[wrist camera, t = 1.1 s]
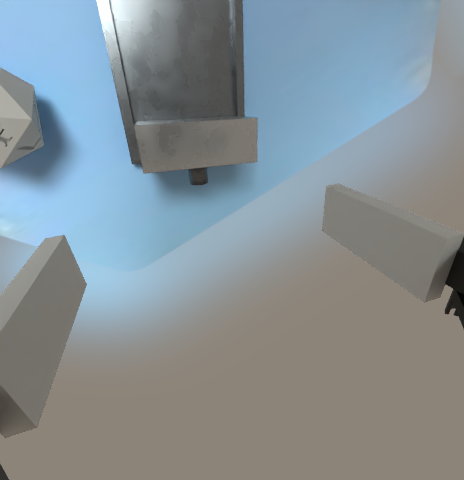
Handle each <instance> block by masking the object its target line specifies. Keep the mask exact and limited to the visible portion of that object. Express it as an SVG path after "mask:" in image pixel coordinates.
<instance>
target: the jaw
mask: <svg viewBox="0 0 464 480" xmlns="http://www.w3.org/2000/svg"><path fill="white" fill-rule="evenodd" d="M134 128H135V133H136V138H137V143H138V148H139V153H140V158H141V163H142V168H143V173H154V172H164V171H173V170H183V169H188V170H189V178H190V184H192V185H203V184H206V183H208V177H207V167H212V166H222V165H232V164H242V163H251V162H257V118H252V117H239V116H225V117H207V118H190V119H172V120H155V121H137V122H136V124H135V125H134Z"/></svg>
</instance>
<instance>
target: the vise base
mask: <svg viewBox="0 0 464 480" xmlns="http://www.w3.org/2000/svg"><path fill="white" fill-rule="evenodd" d="M97 5H98V9H99V14H100V18H101V23H102V28H103V32H104V37H105V41H106V46H107V51H108V55H109V60H110V64H111V69H112V74H113V78H114V83H115V87H116V92H117V97H118V101H119V106H120V111H121V115H122V120H123V124H124V129H125V134H126V138H127V143H128V147H129V152H130V157H131V161H132V164H139V163H141V158H140V153H139V148H138V143H137V138H136V133H135V128H134V125H135V124H136V122H137V121H155V120H172V119H190V118H207V117H225V116H239V117H244V69H243V12H242V0H97Z"/></svg>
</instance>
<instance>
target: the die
mask: <svg viewBox="0 0 464 480" xmlns="http://www.w3.org/2000/svg"><path fill="white" fill-rule="evenodd" d="M43 146H44V141H43V135H42V130H41V124H40V119H39V113H38V108H37V102H36V97H35V91H34V86H33V85H31V84H29V83H27V82H25V81H24V80H22V79H20V78H18V77H16V76H15V75H13V74H11V73H9V72H7V71H6V70H4V69H2V68H0V169H1V168H3V167H5V166H7V165H9V164H10V163H12V162H14V161H16V160H18V159H20V158H22V157H24V156H26V155H27V154H29V153H31V152H33V151H35V150H37V149H39V148H41V147H43Z"/></svg>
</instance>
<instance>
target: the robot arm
mask: <svg viewBox="0 0 464 480" xmlns="http://www.w3.org/2000/svg"><path fill="white" fill-rule="evenodd" d="M322 231H323V232H325V233H326V234H327V235H329V236H330V237H331V238H333V239H334V240H336V241H337V242H339V243H340V244H341V245H343V246H344V247H346V248H347V249H349V250H350V251H352V252H353V253H354V254H356V255H357V256H359V257H360V258H362V259H363V260H364V261H366V262H367V263H368V264H370V265H371V266H373V267H374V268H376V269H377V270H378V271H380V272H381V273H383V274H384V275H386V276H387V277H388V278H390V279H391V280H393V281H394V282H396V283H397V284H399V285H400V286H401V287H403V288H404V289H406V290H407V291H408V292H410V293H411V294H413V295H414V296H415V297H417V298H419V299H420V300H421V301H423V302H428V301H430V300H434V299H437V298H440V297H441V294H442V291H443V289H444V286H445V284H446V285H448V286H450V287H451V288H453V291H452V294H451V296H450V299H449V301H448V303H447V306H446V308H445V314H449V312H450V310H451V309H452V308H455V309H456V310H455V313H454V315H455V316H459V318H460V321H461V323H462V326H463V328H464V233H462V232H459V231H456V230H454V229H452V228H449V227H446V226H444V225H442V224H439V223H436V222H434V221H431V220H429V219H426V218H423V217H421V216H419V215H416V214H414V213H411V212H409V211H406V210H404V209H401V208H399V207H396V206H393V205H391V204H388V203H386V202H383V201H381V200H378V199H376V198H373V197H371V196H368V195H366V194H363V193H360V192H358V191H355V190H353V189H350V188H348V187H345V186H343V185H340V184H335V185H329V186H326V194H325V205H324V216H323V227H322ZM86 285H87V284H86V282H85V280H84V277H83V275H82V273H81V271H80V268H79V266H78V264H77V262H76V260H75V257H74V255H73V253H72V251H71V249H70V246H69V244H68V242H67V240H66V237H65V235H62V236H56V237H51V238H46V239H44V241H43V242H42V243H41V245H40V246H39V247H38V248H37V250H36V251H35V252H34V253H33V255H32V256H31V257H30V259H29V260H28V261H27V263H26V264H25V265H24V266H23V268H22V269H21V270H20V271H19V273H18V274H17V275H16V276H15V278H14V279H13V280H12V282H11V283H10V284H9V285H8V286H7V288H6V289H5V290H4V292H3V293H2V294H1V295H0V433H1V434H2V435H3V436H4V437H5V438H7V437H10V436H12V435H16V434H19V433H22V432H25V431H28V430H31V429H34V428H37V427H38V424H39V421H40V418H41V415H42V412H43V409H44V406H45V403H46V401H47V398H48V395H49V392H50V389H51V386H52V383H53V380H54V377H55V375H56V372H57V369H58V366H59V363H60V360H61V357H62V354H63V352H64V349H65V346H66V342H67V340H68V337H69V334H70V331H71V328H72V326H73V323H74V320H75V317H76V314H77V311H78V308H79V305H80V302H81V299H82V297H83V294H84V290H85V288H86ZM0 480H9V479H8V477H7V475H6V473H5V472H4V470H3V468H2V466H1V465H0Z"/></svg>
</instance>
